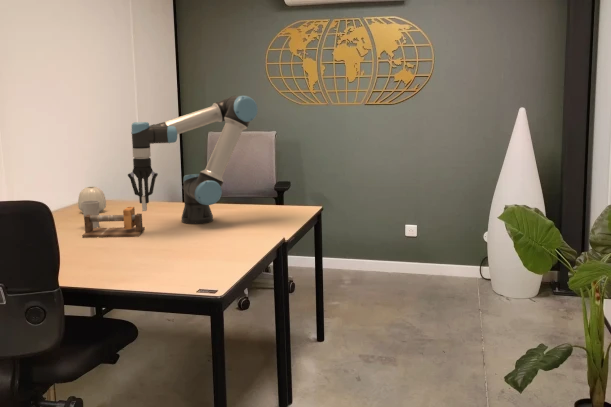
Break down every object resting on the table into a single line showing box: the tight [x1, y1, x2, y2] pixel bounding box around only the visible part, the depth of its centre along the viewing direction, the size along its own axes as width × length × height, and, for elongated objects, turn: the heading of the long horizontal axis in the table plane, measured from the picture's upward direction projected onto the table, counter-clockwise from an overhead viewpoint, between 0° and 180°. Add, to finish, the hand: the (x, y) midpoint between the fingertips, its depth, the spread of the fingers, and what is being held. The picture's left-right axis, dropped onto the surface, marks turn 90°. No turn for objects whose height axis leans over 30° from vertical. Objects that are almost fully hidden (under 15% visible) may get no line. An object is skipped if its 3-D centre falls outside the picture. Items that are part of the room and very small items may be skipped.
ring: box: [122, 206, 136, 229], centre depth 270 cm, size 3×8×8 cm, turn 3°
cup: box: [81, 200, 100, 228], centre depth 284 cm, size 8×8×12 cm
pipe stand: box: [82, 213, 146, 239], centre depth 270 cm, size 24×14×8 cm, turn 93°
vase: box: [77, 186, 107, 213], centre depth 319 cm, size 14×14×13 cm
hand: (144, 210), depth 270 cm, fingers closed
